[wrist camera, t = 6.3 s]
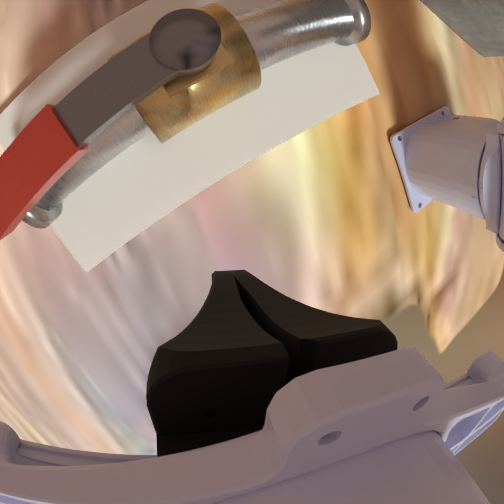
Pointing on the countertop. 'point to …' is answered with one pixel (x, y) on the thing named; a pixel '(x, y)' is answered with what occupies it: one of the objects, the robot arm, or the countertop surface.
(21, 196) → the valve lever
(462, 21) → the hip flask
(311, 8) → the ball valve
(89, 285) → the countertop surface
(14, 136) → the mounting board
